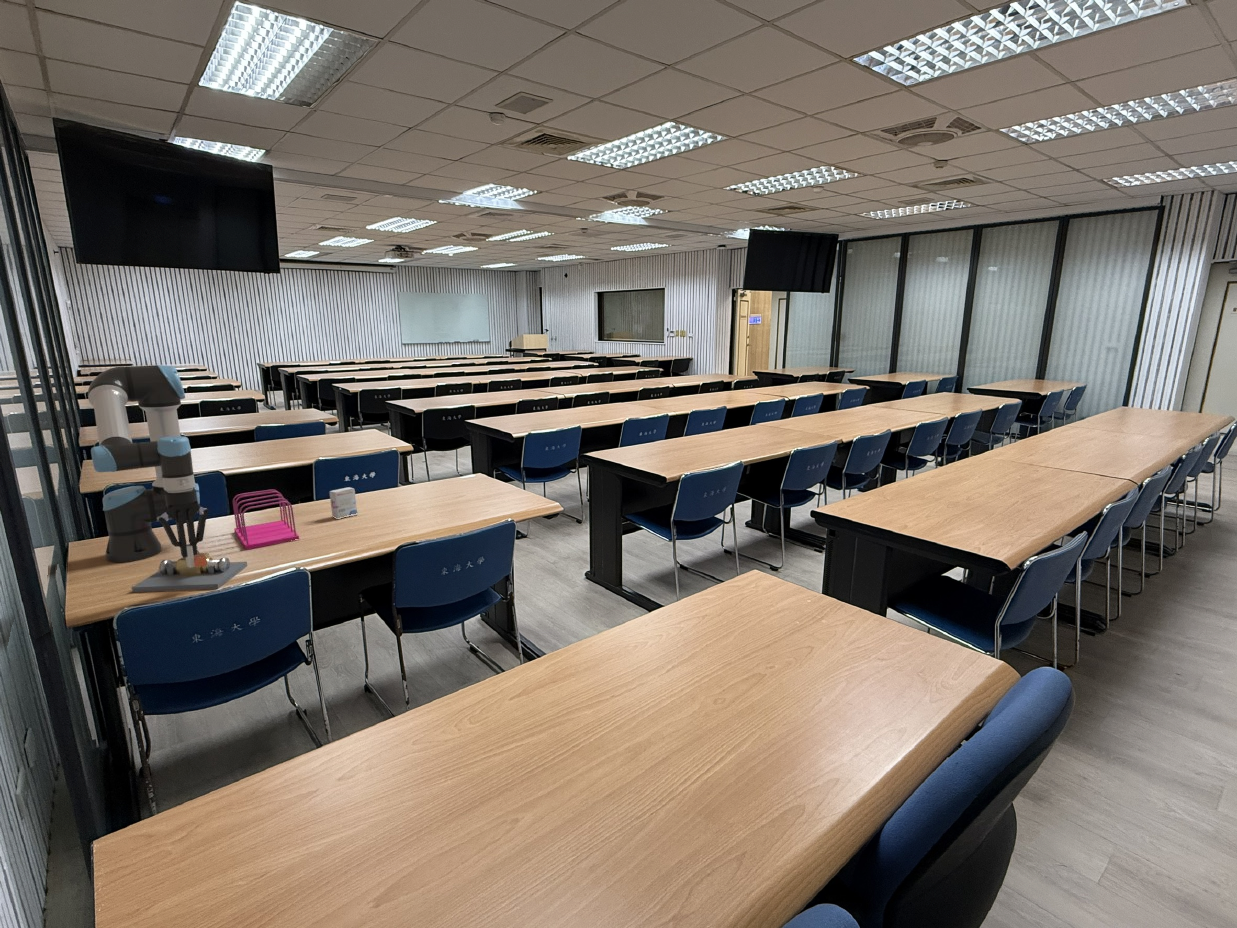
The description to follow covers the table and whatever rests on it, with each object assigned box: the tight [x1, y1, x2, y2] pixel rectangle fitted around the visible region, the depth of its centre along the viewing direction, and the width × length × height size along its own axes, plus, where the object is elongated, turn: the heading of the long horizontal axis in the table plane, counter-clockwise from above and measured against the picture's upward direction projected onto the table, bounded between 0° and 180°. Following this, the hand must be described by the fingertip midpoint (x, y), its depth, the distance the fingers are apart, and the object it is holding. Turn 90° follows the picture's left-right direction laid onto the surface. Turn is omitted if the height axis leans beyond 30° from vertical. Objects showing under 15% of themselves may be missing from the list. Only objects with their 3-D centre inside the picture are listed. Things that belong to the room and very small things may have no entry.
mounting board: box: [131, 561, 248, 593], centre depth 189 cm, size 24×18×2 cm
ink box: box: [328, 486, 358, 518], centre depth 251 cm, size 9×5×12 cm, turn 141°
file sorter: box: [232, 489, 300, 550], centre depth 227 cm, size 17×25×16 cm
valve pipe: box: [158, 552, 231, 576], centre depth 191 cm, size 18×6×6 cm, turn 96°
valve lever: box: [194, 545, 207, 567], centre depth 186 cm, size 15×3×3 cm, turn 44°
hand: (191, 566), depth 181 cm, fingers closed
